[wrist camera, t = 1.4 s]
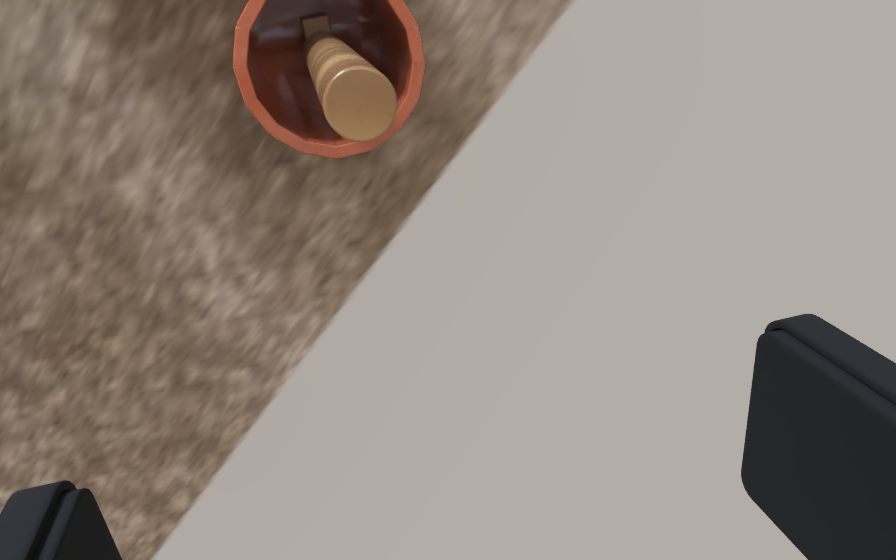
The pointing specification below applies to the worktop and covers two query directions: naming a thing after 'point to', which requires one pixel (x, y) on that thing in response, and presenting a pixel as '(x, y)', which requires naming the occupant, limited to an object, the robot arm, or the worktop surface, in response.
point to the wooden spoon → (346, 83)
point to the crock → (287, 76)
